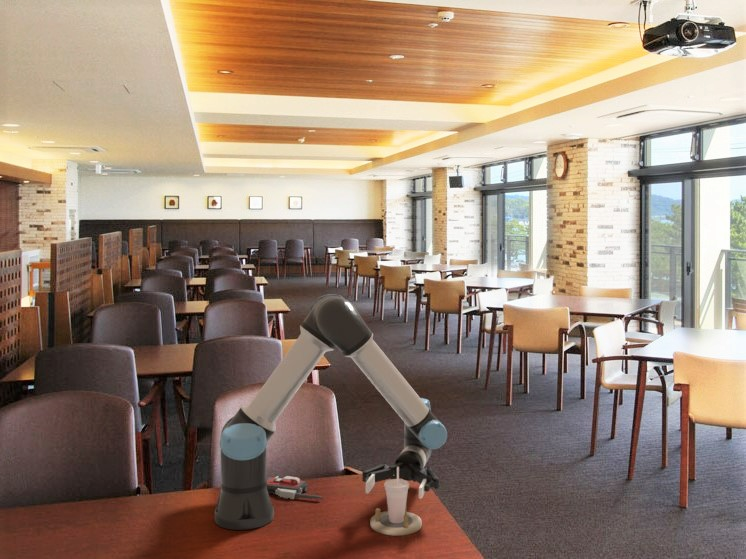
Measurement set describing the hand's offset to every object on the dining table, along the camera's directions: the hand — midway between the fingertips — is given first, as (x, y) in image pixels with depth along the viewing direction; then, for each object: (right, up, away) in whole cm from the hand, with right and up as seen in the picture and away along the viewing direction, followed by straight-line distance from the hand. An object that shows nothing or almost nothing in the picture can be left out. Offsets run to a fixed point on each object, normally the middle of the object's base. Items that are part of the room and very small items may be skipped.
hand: (393, 490), depth 177 cm
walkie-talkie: (-28, -9, +25) cm, 38 cm away
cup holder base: (+1, -10, +4) cm, 10 cm away
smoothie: (+1, -9, +4) cm, 10 cm away
